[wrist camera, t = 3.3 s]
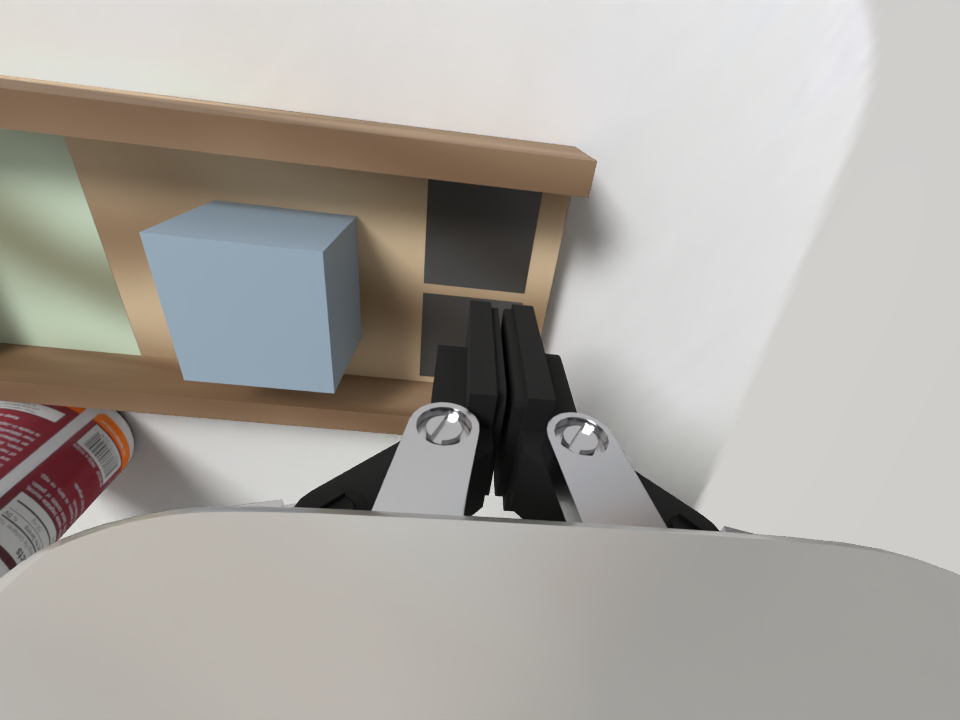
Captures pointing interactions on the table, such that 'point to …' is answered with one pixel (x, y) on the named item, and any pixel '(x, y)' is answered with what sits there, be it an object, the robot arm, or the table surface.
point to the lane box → (268, 182)
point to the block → (259, 294)
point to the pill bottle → (53, 471)
